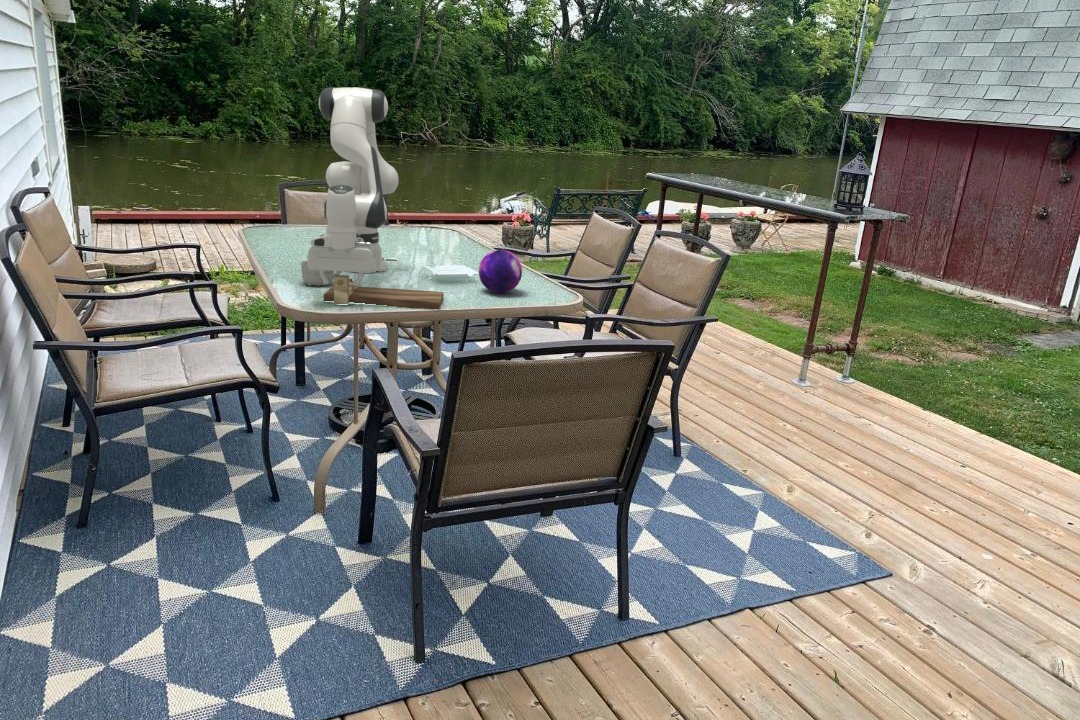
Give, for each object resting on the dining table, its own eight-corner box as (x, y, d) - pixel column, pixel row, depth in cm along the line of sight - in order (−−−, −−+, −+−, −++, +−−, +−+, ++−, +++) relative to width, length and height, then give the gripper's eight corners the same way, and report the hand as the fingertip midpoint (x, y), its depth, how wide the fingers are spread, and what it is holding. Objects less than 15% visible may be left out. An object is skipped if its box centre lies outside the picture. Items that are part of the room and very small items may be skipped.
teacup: (301, 288, 267) (301, 264, 265) (301, 280, 277) (300, 257, 275) (344, 288, 271) (344, 264, 269) (342, 281, 281) (342, 258, 279)
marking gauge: (345, 293, 264) (345, 266, 261) (357, 293, 264) (357, 266, 262) (333, 305, 248) (333, 276, 245) (346, 306, 248) (346, 277, 245)
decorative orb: (488, 285, 291) (490, 244, 286) (527, 291, 286) (529, 249, 281) (470, 293, 277) (472, 250, 273) (510, 300, 272) (513, 256, 268)
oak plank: (333, 292, 265) (333, 284, 264) (443, 299, 266) (443, 291, 266) (323, 302, 252) (323, 294, 251) (439, 309, 253) (439, 302, 252)
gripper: (377, 241, 247) (377, 285, 252) (310, 236, 247) (311, 280, 251) (374, 244, 241) (373, 289, 246) (305, 239, 241) (306, 285, 245)
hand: (341, 285), depth 248 cm, fingers open, 8 cm apart
